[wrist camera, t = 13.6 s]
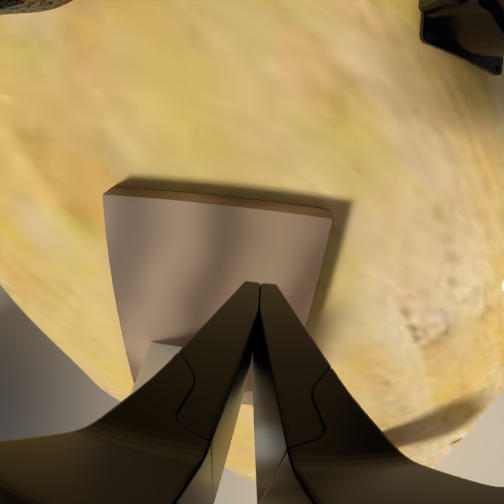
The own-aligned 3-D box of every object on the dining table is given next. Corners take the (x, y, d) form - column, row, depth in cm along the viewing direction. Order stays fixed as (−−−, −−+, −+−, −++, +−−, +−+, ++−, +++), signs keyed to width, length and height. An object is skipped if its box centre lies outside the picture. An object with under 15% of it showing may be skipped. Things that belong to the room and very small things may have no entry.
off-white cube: (225, 353, 24) (213, 429, 18) (222, 395, 27) (213, 462, 21) (150, 341, 24) (124, 412, 18) (158, 385, 27) (139, 448, 21)
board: (328, 209, 20) (332, 219, 18) (280, 394, 29) (280, 407, 28) (112, 186, 19) (102, 194, 18) (139, 374, 29) (134, 386, 27)
